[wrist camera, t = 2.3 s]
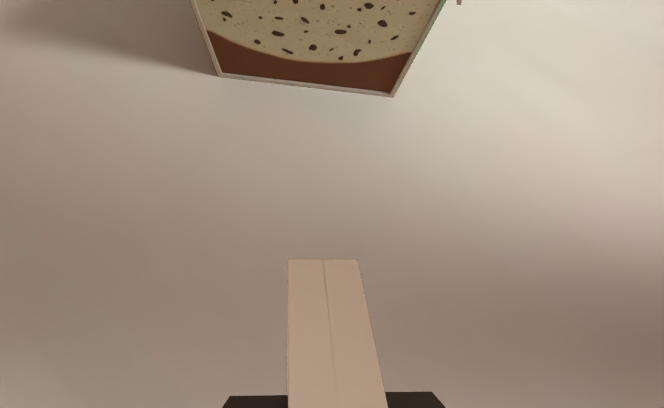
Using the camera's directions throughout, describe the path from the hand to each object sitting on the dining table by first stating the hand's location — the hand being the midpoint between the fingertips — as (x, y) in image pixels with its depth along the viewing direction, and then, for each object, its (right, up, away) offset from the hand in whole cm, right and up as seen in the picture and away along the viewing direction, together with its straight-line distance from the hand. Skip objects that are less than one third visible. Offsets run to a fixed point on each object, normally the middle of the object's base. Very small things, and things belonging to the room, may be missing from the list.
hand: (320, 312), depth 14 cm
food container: (-1, +11, +20) cm, 23 cm away
